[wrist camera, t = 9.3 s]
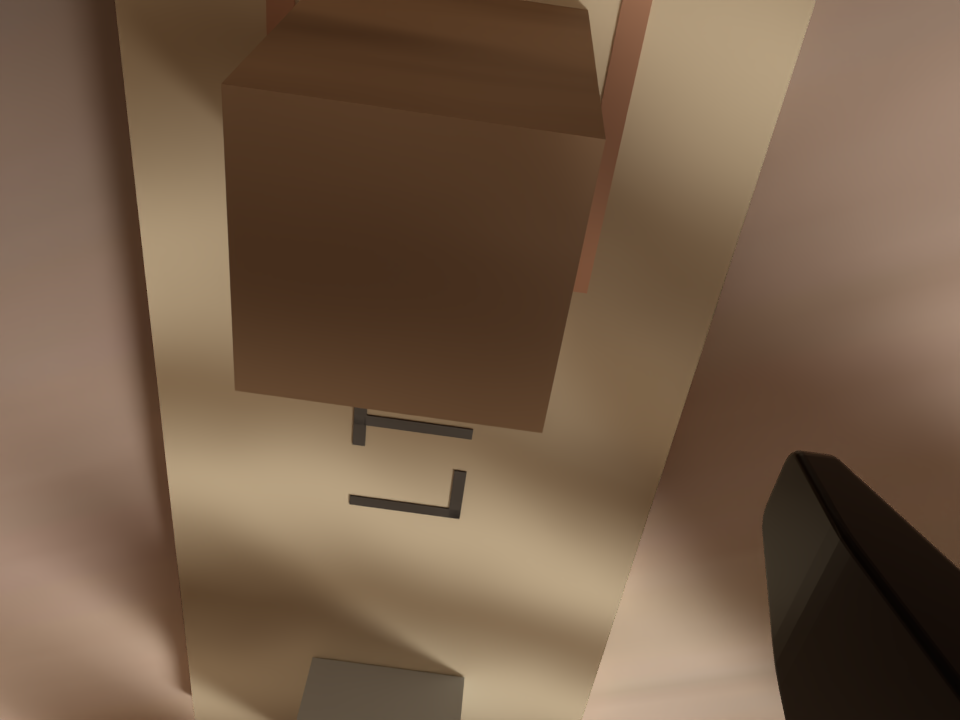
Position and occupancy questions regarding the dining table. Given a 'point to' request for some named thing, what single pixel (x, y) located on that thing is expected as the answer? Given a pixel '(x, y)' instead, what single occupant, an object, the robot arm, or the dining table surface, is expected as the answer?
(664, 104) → the board
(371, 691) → the slate block
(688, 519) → the dining table surface
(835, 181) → the dining table surface
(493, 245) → the walnut block
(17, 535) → the dining table surface
